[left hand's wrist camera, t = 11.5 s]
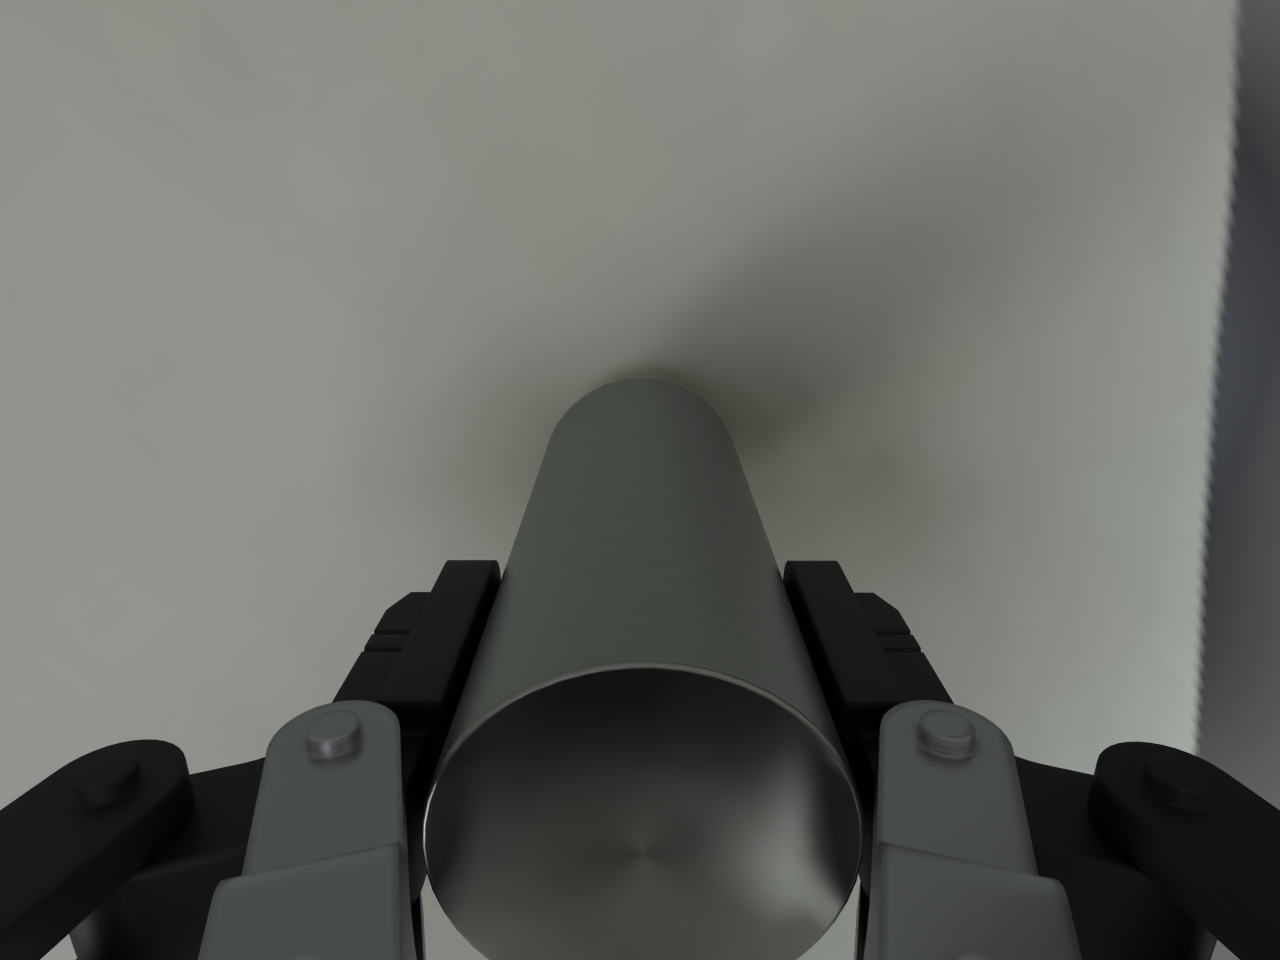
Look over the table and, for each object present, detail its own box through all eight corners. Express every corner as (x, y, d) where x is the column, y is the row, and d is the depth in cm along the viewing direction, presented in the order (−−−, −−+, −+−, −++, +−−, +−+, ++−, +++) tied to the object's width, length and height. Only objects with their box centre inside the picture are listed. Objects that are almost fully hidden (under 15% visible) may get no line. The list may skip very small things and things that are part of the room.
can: (761, 524, 18) (911, 950, 8) (586, 582, 19) (525, 1050, 9) (701, 349, 17) (794, 601, 7) (514, 417, 17) (339, 745, 7)
